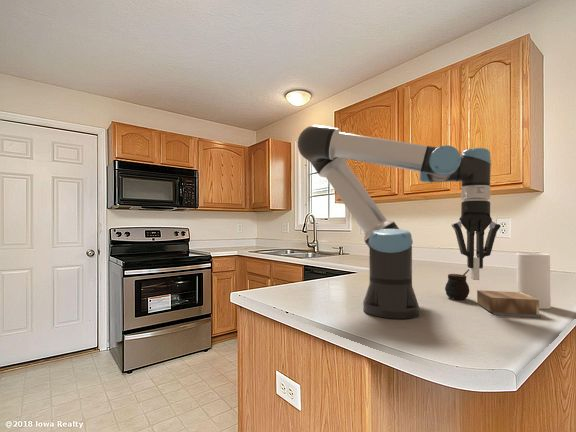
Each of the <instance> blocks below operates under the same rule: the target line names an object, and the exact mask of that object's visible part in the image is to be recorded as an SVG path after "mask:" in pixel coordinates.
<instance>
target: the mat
mask: <svg viewBox="0 0 576 432" xmlns="http://www.w3.org/2000/svg"><path fill="white" fill-rule="evenodd" d="M491 313H492V314H493V315H496V316H509V317H526V318H542V317H541V316H542V315H540V314H539V315H537V314H520V313H503V312H491Z"/></svg>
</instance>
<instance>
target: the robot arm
mask: <svg viewBox="0 0 576 432" xmlns="http://www.w3.org/2000/svg"><path fill="white" fill-rule="evenodd" d="M297 149H298V152H299V154H300V155H301V156H302V157H303V158H304V159H306V161H308V162H309V163H310V164H311V165H312V167H313V168H314V170H315V171H316V173H317V174H318V175H319V176H320V177H322V178H325V179H326V180H327V181H328V183H329V184H330V185H331V187H332V188H333V189H334V191H335V193H336V194H337V195H338V197H339V198H340V200H341V201H342V203H343V205H344V206H345V207H346V209H347V210H348V212H349V213H350V214H351V216H352V217H353V219H354V221H355V222H356V223H357V224H358V227H360V229H361V231H362V232H363V233H364V239H363V241H364V243H365V244H366V245H367V247H368V249H369V250H368V251H369V255H368V256H369V259H368V261H369V271H368V273H369V282H368V287H367V290H366V293H365V297H364V299H363V303H362V304H363V311H364V312H365V313H366V314H367V315H368V314H369V315H371V316H375V317H377V318H378V317H379V318H384V319H396V320H404V319H405V320H406V319H412V318H413V319H414V318H416V317H419V315H420V305H419V302H418V299H417V296H416V293H415V289H414V288H413V247H412V246H413V244H414V242H413V238H412V237H413V236H412V233H411V232H410V231H409V230H407V229H402V228H399V226H398V225H397V224H396V222H395V221H394V220H390V219H387V218H386V216H385V215H384V213H383V212H382V211H381V209H380V208H379V206H378V205H377V204H376V202H375V201H374V199H373V198H372V197H371V195H370V194H369V193H368V190H366V189H365V187H364V185H363V184H362V182H361V181H360V180H359V178H358V177H357V176H356V175H355V173H354V171H353V170H352V169H351V167H350V166H349V165H348V162H347V161H348V160H350V161H357V162H362V163H367V164H373V165H378V166H385V167H389V168H395V169H399V170H406V171H413V172H417V173H418V172H419V180H420V182H421V183H431V184H432V183H444V182H445V183H447V182H449V183H451V182H452V183H453V182H457V183H458V182H461V200H462V201H461V204H460V205H461V206H460V209H461V211H460V217H459V219H458V220H457V221H456V222H455V223H451V227H452V229H453V230H454V232H455V235H456V241H457V243H458V247H459V252H460V255H464V256H466V258H467V259H466V261H467V264H466V265H467V268H469V269H470V279H471V280H474V281H480V269H481V270H483V267H484V259H485V257H489V256H491V253H492V251H493V246H494V242H495V239H496V235H497V232H498V231H499V230H500V228H501V224H499V223H496V222H494V221H493V218H492V216H491V201H489V200H490V199H491V171H492V169H491V167H492V163H491V161H492V160H491V151H490V150H489V149H487V148H483V147H475V148H467V149H465V150H462V152H461V153H460V151H459V150H458V149H457V147H454V146H453V145H446V144H445V145H441V146H432V145H431V146H430V145H424V144H416V143H412V142H407V141H406V142H405V141H398V140H392V139H386V138H380V137H379V138H378V137H374V136H373V137H372V136H365V135H359V134H353V133H349V132H347V133H346V132H342V131H341V130H340V128H338V127H331V126H326V125H319V124H313V125H310V126H307V127H305V128H304V129H303V130H302V131H301V132H300V133H299V136H298V138H297ZM462 227H464V229H465V230H466V236H467V237H466V242H465V238H464V235H463V231H462ZM487 228H489V230H488V234H487V235H486V240H485V237H484V236H485V231H486V229H487ZM475 237H476V239H475ZM475 240H476V241H475ZM484 240H485V241H484ZM475 242H476V243H475ZM475 245H476V246H475ZM475 253H476V254H475ZM475 255H476V256H475Z"/></svg>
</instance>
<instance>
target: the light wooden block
mask: <svg viewBox="0 0 576 432" xmlns="http://www.w3.org/2000/svg"><path fill="white" fill-rule="evenodd" d="M476 298H477V299H476V302H477V304H478V305H479V306H481V307H482V308H484V309H486V310H487V311H489V312H490V313H492V312H503V313H520V314H537V315H540V309H539V300H538V299H535V298H533V297H531V296H528V295H526V294H524V293H521V292H517V291H501V290H482V289H481V290H479V289H477V290H476Z"/></svg>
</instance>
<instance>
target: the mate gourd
mask: <svg viewBox="0 0 576 432" xmlns="http://www.w3.org/2000/svg"><path fill="white" fill-rule="evenodd" d="M469 272H470V268H469V269H467V270H466V271H465V272H464V273H463V274H459V273H448V274H447V282H446V284H445V288H444V289H445V295H446V296H447V297H448V298H449V299H451V300H458V301H462V300H463V301H464V300H466V299H467V298H468V297H469V294H470V287H469V284H468V282H467V273H469Z"/></svg>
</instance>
